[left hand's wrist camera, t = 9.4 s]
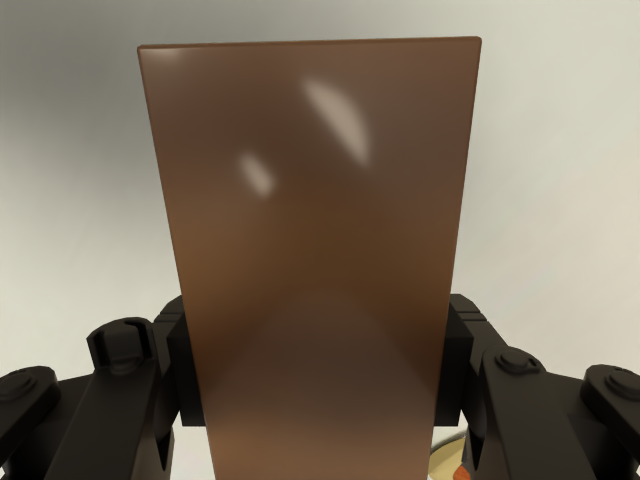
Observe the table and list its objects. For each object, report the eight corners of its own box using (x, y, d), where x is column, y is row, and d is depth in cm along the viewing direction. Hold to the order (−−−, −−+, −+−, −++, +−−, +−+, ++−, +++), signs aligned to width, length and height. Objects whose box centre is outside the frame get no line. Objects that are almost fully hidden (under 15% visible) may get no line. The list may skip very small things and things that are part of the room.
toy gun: (425, 476, 31) (478, 548, 33) (621, 373, 29) (666, 456, 31) (417, 452, 34) (466, 519, 36) (596, 356, 32) (639, 433, 33)
